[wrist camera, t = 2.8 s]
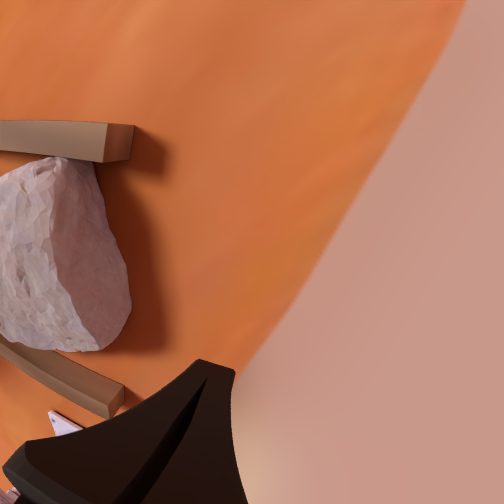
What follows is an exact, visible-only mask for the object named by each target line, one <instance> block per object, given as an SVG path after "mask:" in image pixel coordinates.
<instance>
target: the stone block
mask: <svg viewBox="0 0 504 504" xmlns="http://www.w3.org/2000/svg"><path fill="white" fill-rule="evenodd" d="M131 311H132V302H131V297H130V292H129V284H128V274H127V267H126V264H125V262H124V260H123V258H122V255H121V253H120V251H119V249H118V246H117V244H116V238H115V237H114V235H113V233H112V232H111V230H110V229H109V225H108V220H107V217H106V208H105V205H104V198H103V195H102V193H101V191H100V188H99V185H98V182H97V179H96V176H95V170H94V164H93V162H92V161H88V160H81V159H74V158H66V157H59V156H57V157H47V158H45V159H42V160H38V161H33V162H29V163H28V164H26V165H24V166H21V167H19V168H17V169H15V170H12V171H10V172H8V173H6V174H4V175H3V176H1V177H0V333H1V334H2V335H3V336H4V337H5V338H6V339H7V340H8V341H10V342H17V341H18V342H21V343H23V344H24V345H26V346H28V347H32V348H36V349H41V350H56V349H59V350H61V351H65V352H77V351H79V350H80V351H82V352H85V351H96V350H101V349H104V348H105V347H106V346H108V345H109V344H110V343H112V342H113V341H114V340H115V339H116V338H117V337H118V336H119V335H120V332H121V331H122V328H123V326H124V325H125V323H126V322H127V318H128V316H129V314H130V313H131Z"/></svg>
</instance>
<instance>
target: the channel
mask: <svg viewBox="0 0 504 504" xmlns="http://www.w3.org/2000/svg"><path fill="white" fill-rule="evenodd" d="M134 126H135V125H125V124H113V123H100V122H83V121H59V120H1V121H0V150H6V151H16V152H25V153H34V154H43V155H51V156H59V157H66V158H74V159H81V160H88V161H95V162H101V163H104V162H112V161H121V160H130V153H131V146H132V139H133V132H134ZM0 355H1V356H2V357H3V358H5V359H6V360H8V361H9V362H10V363H12V364H13V365H15V366H16V367H17V368H19V369H20V370H22V371H23V372H25V373H26V374H28V375H29V376H31V377H32V378H34V379H35V380H37V381H39V382H40V383H42V384H43V385H45V386H46V387H48V388H50V389H51V390H53V391H55V392H56V393H58V394H60V395H62V396H63V397H65V398H67V399H68V400H70V401H72V402H74V403H76V404H77V405H79V406H81V407H83V408H85V409H87V410H89V411H91V412H93V413H95V414H97V415H99V416H101V417H103V418H105V419H107V420H108V419H111V418H113V416H114V415H115V414H116V412H117V411H118V410H119V408H120V407H121V405H122V404H123V403H124V401H125V398H124V387H123V385H121V384H119V383H117V382H115V381H112V380H110V379H108V378H106V377H104V376H102V375H99V374H97V373H95V372H93V371H91V370H89V369H87V368H85V367H83V366H81V365H79V364H77V363H75V362H73V361H71V360H69V359H67V358H66V357H64V356H62V355H60V354H58V353H56V352H54V351H53V350H41V349H36V348H32V347H28V346H26V345H24V344H23V343H21V342H18V341H17V342H10V341H8V340H7V339H6V338H5V337H4V336H3V335H2V334H1V333H0Z"/></svg>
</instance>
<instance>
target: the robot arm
mask: <svg viewBox="0 0 504 504" xmlns="http://www.w3.org/2000/svg"><path fill="white" fill-rule="evenodd" d="M235 373H236V372H235V371H234V370H233V369H231V368H227V367H224V366H221V365H217V364H214V363H211V362H208V361H204V360H201V359H198V360H196V361H195V362H194V363H192V364H191V365H190V366H189V367H188V368H187V369H186V370H185V371H184V372H182V373H181V374H180V375H179V376H178V377H176V378H175V379H174V380H173V381H171V382H170V383H169V384H167V385H166V386H165V387H163V388H162V389H161V390H159V391H158V392H157V393H155V394H154V395H152V396H150V397H149V398H147V399H146V400H144V401H143V402H141V403H140V404H138V405H136V406H134V407H133V408H131V409H129V410H127V411H125V412H123V413H121V414H119V415H117V416H115V417H113V418H111V419H108V420H106V421H104V422H101V423H99V424H96V425H94V426H91V427H88V428H85V429H83V428H81V427H80V426H78V425H76V424H74V423H73V422H71V421H69V420H67V419H66V418H64V417H62V416H61V415H59V414H57V413H56V412H54V411H50V412H49V413H48V415H49V418H50V420H51V423H52V426H53V428H54V431H55V433H56V436H55V437H49V438H43V439H37V440H30V441H26V442H25V443H24V444H23V445H22V446H21V447H19V448H18V449H17V450H16V451H15V453H14V454H13V455H12V456H11V457H10V458H9V460H8V461H7V462H6V463H5V464H4V465H3V467H2V468H3V472H4V474H5V476H6V477H7V478H8V479H9V481H10V482H11V483H12V485H13V486H14V487H13V488H12V490H10V489H9V490H8V491H7V492H6V493H5V492H4V491H3V490H1V489H0V504H248V502H247V499H246V495H245V492H244V489H243V486H242V483H241V479H240V475H239V471H238V467H237V462H236V457H235V452H234V446H233V438H232V428H231V391H232V386H233V382H234V378H235Z"/></svg>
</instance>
